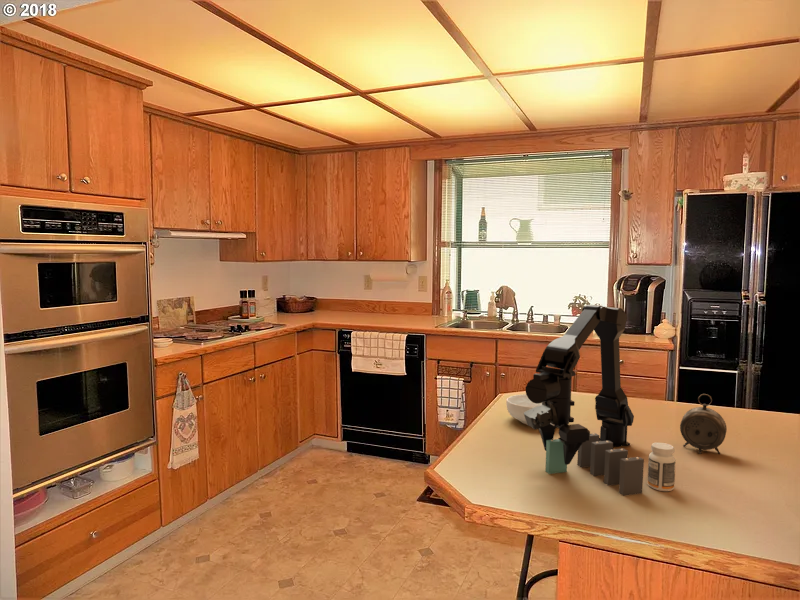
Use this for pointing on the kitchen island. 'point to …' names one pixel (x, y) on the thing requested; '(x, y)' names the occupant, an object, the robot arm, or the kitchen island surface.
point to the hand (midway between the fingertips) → (556, 457)
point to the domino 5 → (631, 476)
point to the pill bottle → (661, 467)
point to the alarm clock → (703, 428)
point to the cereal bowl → (519, 406)
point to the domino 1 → (555, 457)
